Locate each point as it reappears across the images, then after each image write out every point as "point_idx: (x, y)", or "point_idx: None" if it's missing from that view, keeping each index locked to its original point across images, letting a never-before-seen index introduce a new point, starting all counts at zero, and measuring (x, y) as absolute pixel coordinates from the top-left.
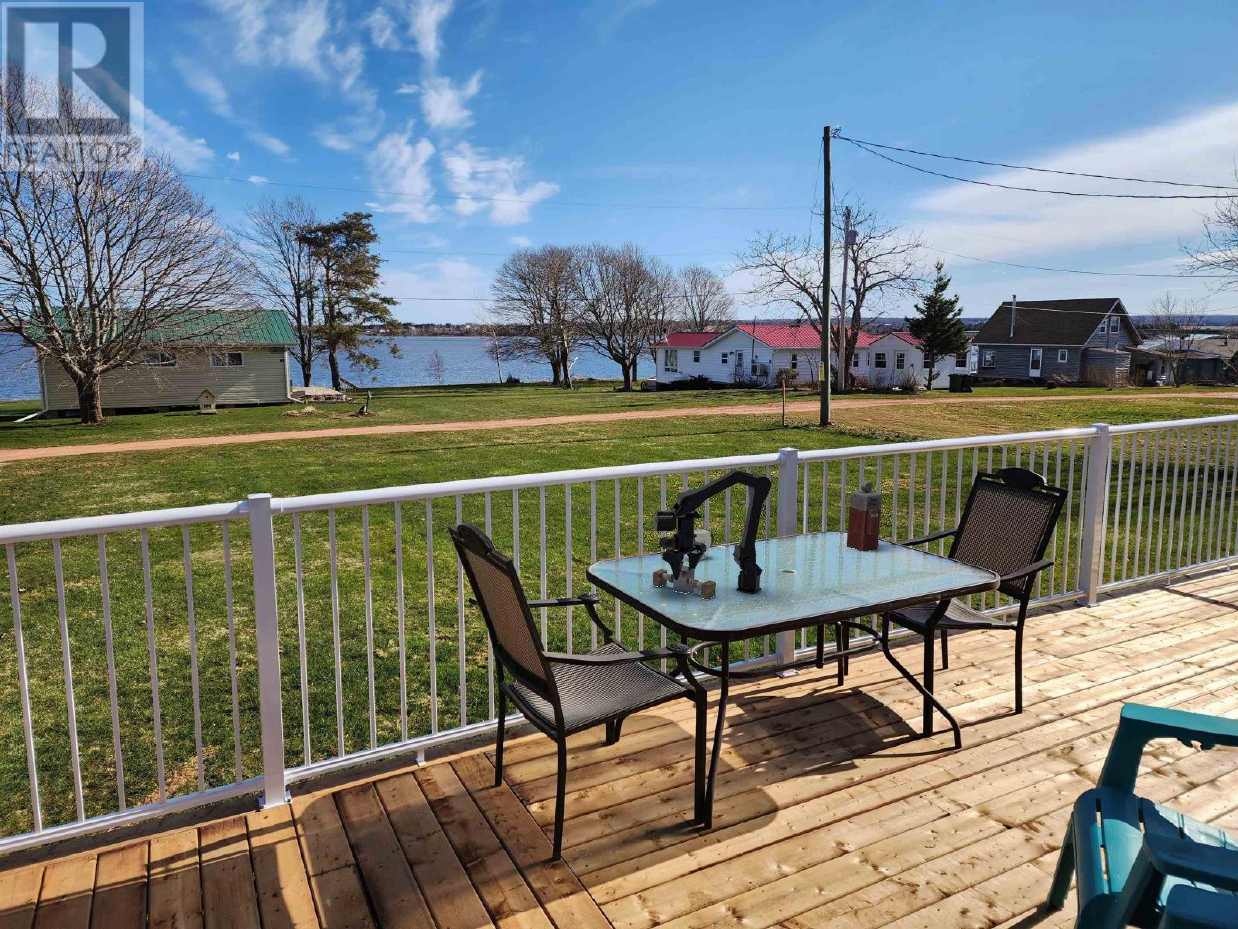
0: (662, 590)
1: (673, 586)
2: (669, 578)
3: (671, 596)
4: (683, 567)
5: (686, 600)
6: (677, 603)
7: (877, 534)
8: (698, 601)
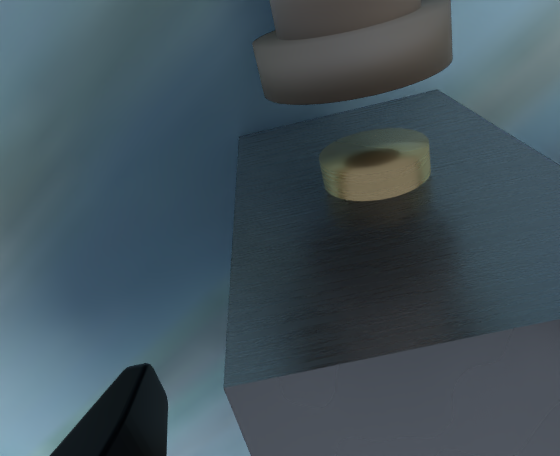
0: (140, 4)
1: (239, 166)
2: (258, 63)
3: (107, 249)
4: (534, 438)
5: (173, 390)
6: (43, 402)
7: None
8: None
